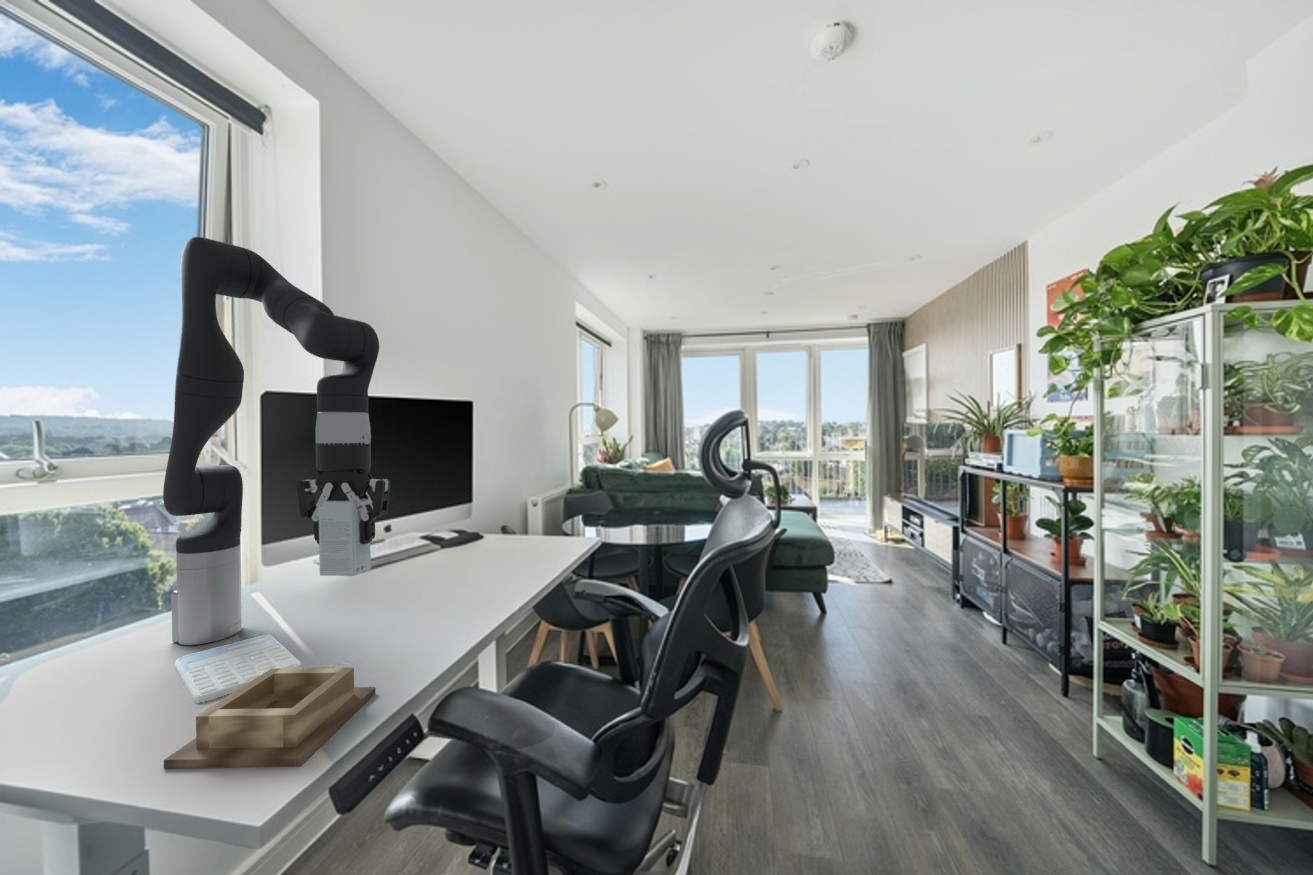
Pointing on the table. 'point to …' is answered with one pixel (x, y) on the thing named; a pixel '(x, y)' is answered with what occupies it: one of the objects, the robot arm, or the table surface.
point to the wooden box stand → (273, 719)
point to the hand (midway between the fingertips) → (345, 542)
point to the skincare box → (341, 540)
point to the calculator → (231, 666)
